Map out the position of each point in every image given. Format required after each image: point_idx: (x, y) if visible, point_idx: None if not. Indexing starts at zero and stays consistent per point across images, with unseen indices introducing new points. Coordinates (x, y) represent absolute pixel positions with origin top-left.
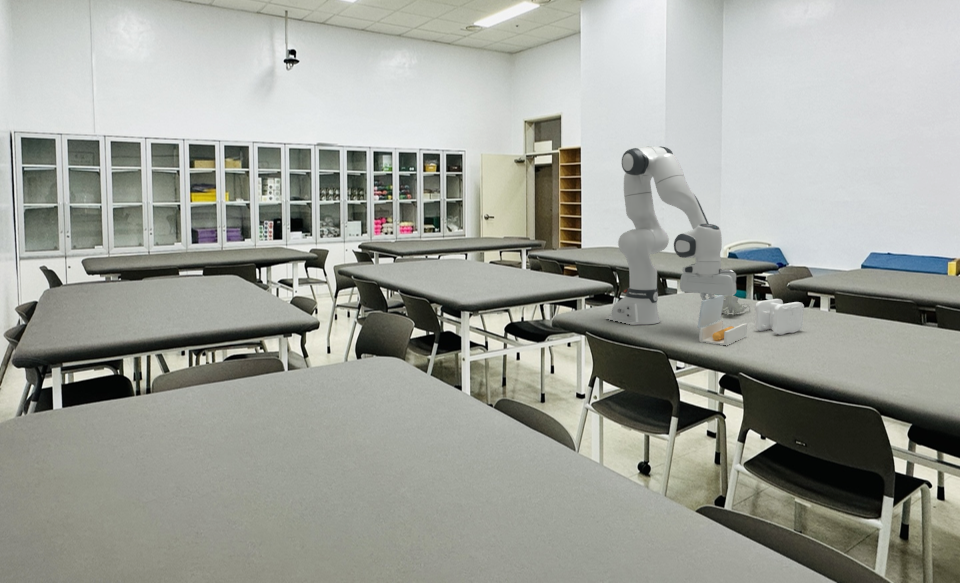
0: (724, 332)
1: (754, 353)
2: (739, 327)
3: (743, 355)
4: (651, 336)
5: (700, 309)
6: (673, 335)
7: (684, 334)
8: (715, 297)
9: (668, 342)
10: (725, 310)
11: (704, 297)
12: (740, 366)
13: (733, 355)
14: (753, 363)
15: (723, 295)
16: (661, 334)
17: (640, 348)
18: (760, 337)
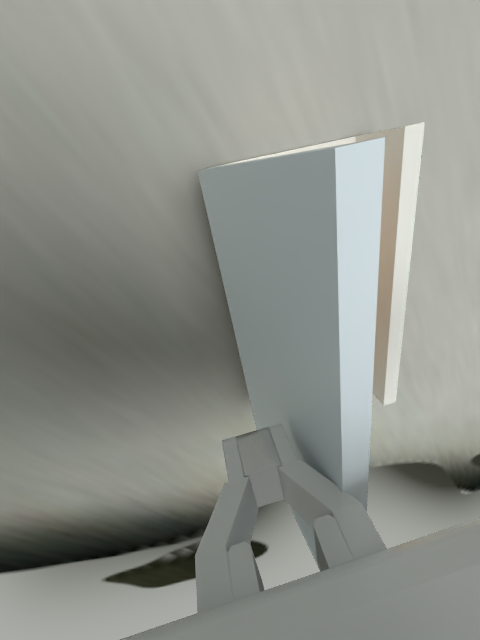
0: (382, 403)
1: (459, 365)
2: (406, 265)
3: (436, 404)
4: (63, 468)
5: (310, 546)
6: (97, 396)
7: (108, 346)
8: (361, 470)
9: (184, 470)
10: None
11: (242, 537)
12: (451, 468)
13: (413, 423)
14: (472, 435)
15: (376, 200)
16: (48, 422)
17: (188, 549)
18: (430, 77)
